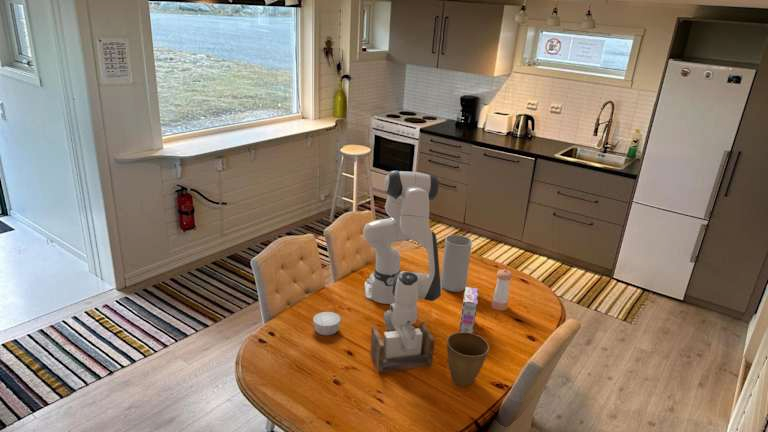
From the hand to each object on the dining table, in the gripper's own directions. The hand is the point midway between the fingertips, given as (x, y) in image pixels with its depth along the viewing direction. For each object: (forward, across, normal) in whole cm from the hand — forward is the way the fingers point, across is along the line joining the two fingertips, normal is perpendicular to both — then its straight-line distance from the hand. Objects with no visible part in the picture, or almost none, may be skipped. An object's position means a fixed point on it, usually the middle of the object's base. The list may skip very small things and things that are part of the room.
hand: (402, 346), depth 203 cm
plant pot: (+6, -16, -19) cm, 26 cm away
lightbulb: (+6, +18, -1) cm, 19 cm away
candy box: (+7, +16, -35) cm, 39 cm away
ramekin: (+7, +26, +24) cm, 36 cm away
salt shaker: (+6, +30, -58) cm, 65 cm away
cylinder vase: (+6, +52, -44) cm, 68 cm away
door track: (+6, 0, 0) cm, 6 cm away
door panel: (+4, 0, 0) cm, 4 cm away
